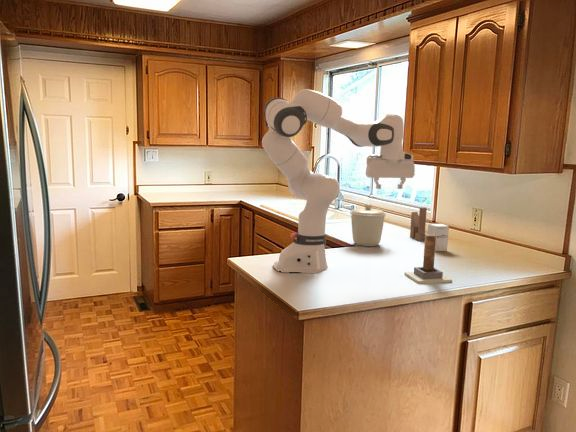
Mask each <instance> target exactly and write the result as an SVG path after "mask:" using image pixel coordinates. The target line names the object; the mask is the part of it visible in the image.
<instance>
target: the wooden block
mask: <svg viewBox="0 0 576 432" xmlns="http://www.w3.org/2000/svg"><path fill="white" fill-rule="evenodd" d="M427 209H428V208H427V207H426V206H421V207H419V213H418V211H414V212H413V211H412V212H411V217H410V229H409V230H410V231H409V237H410V238H411V239H414V240H417V241H418V242H425V235H427V234H426V224H427Z"/></svg>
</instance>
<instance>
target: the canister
mask: <svg viewBox="0 0 576 432" xmlns="http://www.w3.org/2000/svg"><path fill="white" fill-rule="evenodd" d="M349 213H350V218H351V232H352V233H351V234H352V240H353V243H354V244H355V245H358V246H360V247H376V246H378V245H379V244H380V243H381V239H382V235H383V229H384V222H385V216H387V213H386V212H385V211H384V210H381V209H378V208H373V204H371V203H365V204H364V207H360V208H354V209H353V210H350V212H349Z"/></svg>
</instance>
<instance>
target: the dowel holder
mask: <svg viewBox="0 0 576 432" xmlns="http://www.w3.org/2000/svg"><path fill="white" fill-rule="evenodd" d="M404 276H406V277H407V278H408V279H410V280H411V281H413V282H415V283H416V284H419V285H420V284H439V283H441V284H443V283H452V282H453V279H452V278H450V277H448V276H446V275H445V274H444V272H443V271H442V270H439V269H438V268H436V267H434V272H424V271H423V266H415V267H413V271H404Z"/></svg>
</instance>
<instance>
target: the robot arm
mask: <svg viewBox="0 0 576 432" xmlns="http://www.w3.org/2000/svg"><path fill="white" fill-rule="evenodd" d="M263 113H264V114H263V115H264V121H265V126H266V128H268V130H267V132H266V133H265V134H264V135H263V137H262V140H261V146H262V148H263V150H264V151H265V153H266V154H267V156H268V158H269V159H270V160H271V162H272V163H273V164H274V165H275V166H276V167H277V169H278V170H279V171H280V172H281V173H282V174H283V176H284V177H285V178H286V180H287V187H288V188H287V189H288V190H289V193H290V194H291V195H293V196H294V197H296V198H298V199H301V200H306V203H305V207H304V209H303V210H302V211H301V212H300V213H299V214H298V219H297V221H298V224H297V226H298V229H297V233H294V232H293V233H290V238H291V239H292V243H290V244H289V245H287V247H285V248H284V249H282V250H281V252H280V253H279V257H278V261H274V263H273V266H274V267H273V269H274V268H275V269H276V270H275V269H274V270H275V271H277V270H278V272H279V271H281V272H280V273H289V272H302V273H301V274H306V273H307V274H319V273H320V272H323V271H326V270H327V269H328V263H327V258H326V246H327V234H326V219H327V214H328V210H329V208H330V206H331V204H332V202H333V201H335V200H336V199H337V197H338V196H339V193H340V185H339V182H338V181H337V179H336V178H334V177H332V176H330V175H327V174H321V173H315V172H313V171H311V170H310V169H309V166H308V164H309V160H308V158H307V156H306V155H305V154H304V153H303V151H302V150H301V149H300V148H299V147H298V145H297V144H296V143H295V142H294V141H293V139H292V137H294V136H296V135H298V134H299V133H300V132H301V131H302V129H303V127H304V125H305V124H306V123H307V121H309V122H311V123H313V124H316V125H318V126H321V127H324V128H328V129H331V130H334V131H335V132H337V133H339V134H341V135H343V136H344V137H346V138H348V140H349V141H350V142H351V143H352V144H353V145H354V146H355V147H357V148H358V147H359V148H361V147H362V148H363V147H369V148H371V147H372V148H373V147H376V148H377V147H380V148H379V149H380V152H379V154H370V155H369V156H367V157H366V168H365V176H366V177H367V178H371V179H373V181H374V184H375V188H376V189H377V190H380V189H381V188H382V187H381V186H382V184H380V183H379V180H380V178H384V179H386V178H387V179H390V178H392V179H400V183H398V184H397V189H398V190H403V185H404V184H405V182H407V181H406V180H407V179H413V178H414V176H415V175H416V174H415V171H416V170H415V169H416V168H415V162H414V157H415V156H414V155H413V154H411V153H408V152H406V151H403V139H404V132H405V131H404V129H405V127H404V120H403V118H402V116H401V115H397V114H391V113H387V114H383V116H382V117H381V118H379V119H378V120H375V121H373V122H361V121H360V122H354V121H352V120H350V119H349V118H347V117H344V116H343V107H342V104H341V103H340V102H338V101H337V100H335V99H334V98H333V97H330V96H328V95H326V94H324V93H322V92H320V91H316V90H313V89H309V88H303V89H301V90H299V91H298V92H297V93H296V94H295V96H294V98H293V99H292V101H288V100H286V99H285V98H282V97H273V98H270V99H269V100H268V101H266V103H265V105H264V108H263Z"/></svg>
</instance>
